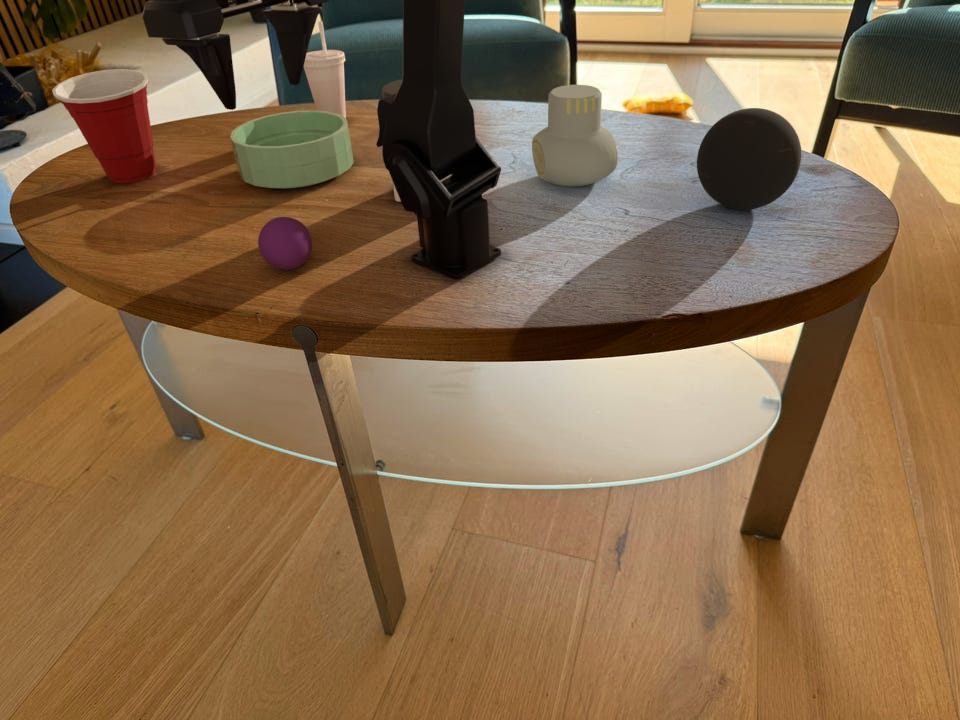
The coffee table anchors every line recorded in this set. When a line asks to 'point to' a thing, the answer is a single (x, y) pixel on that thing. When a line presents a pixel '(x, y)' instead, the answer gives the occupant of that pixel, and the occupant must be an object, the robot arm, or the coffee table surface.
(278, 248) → the ball
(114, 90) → the plastic cup
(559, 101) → the air freshener
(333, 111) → the smoothie
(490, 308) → the coffee table surface
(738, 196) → the speaker
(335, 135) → the bowl
